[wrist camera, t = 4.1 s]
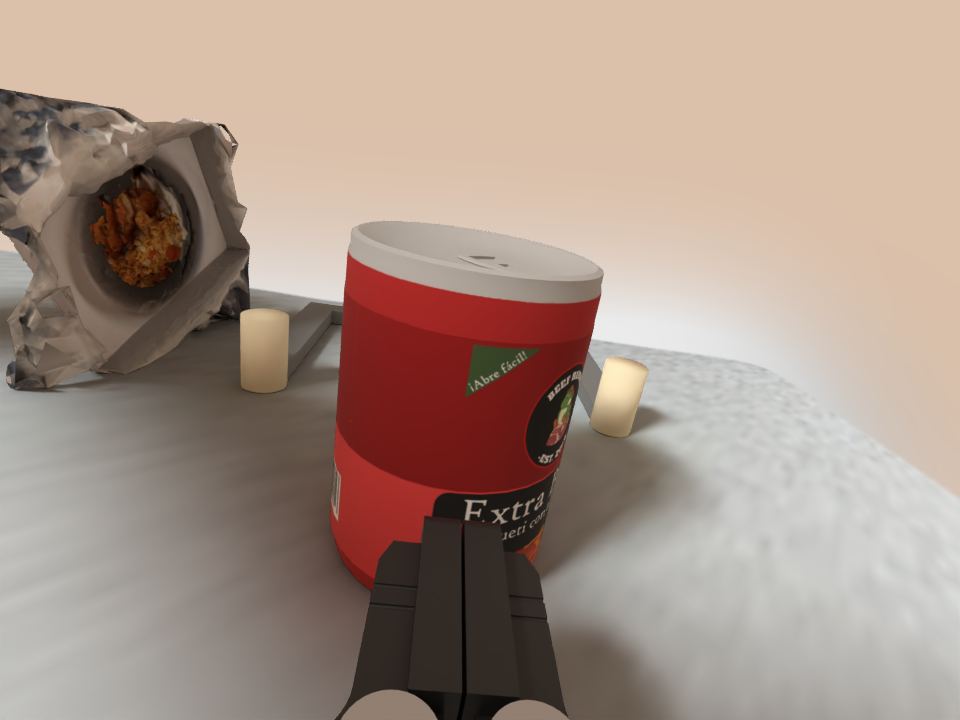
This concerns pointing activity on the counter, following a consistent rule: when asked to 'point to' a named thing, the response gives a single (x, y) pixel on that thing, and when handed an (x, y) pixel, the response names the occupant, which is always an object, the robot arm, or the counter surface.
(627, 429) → the frame
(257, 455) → the counter surface
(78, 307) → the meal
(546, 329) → the canned food
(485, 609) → the robot arm
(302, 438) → the counter surface
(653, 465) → the counter surface
